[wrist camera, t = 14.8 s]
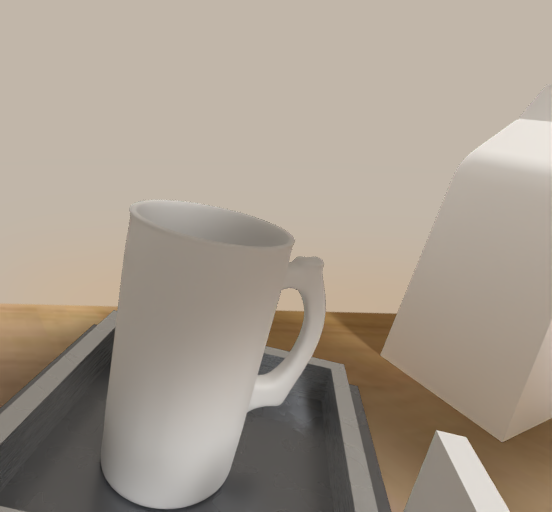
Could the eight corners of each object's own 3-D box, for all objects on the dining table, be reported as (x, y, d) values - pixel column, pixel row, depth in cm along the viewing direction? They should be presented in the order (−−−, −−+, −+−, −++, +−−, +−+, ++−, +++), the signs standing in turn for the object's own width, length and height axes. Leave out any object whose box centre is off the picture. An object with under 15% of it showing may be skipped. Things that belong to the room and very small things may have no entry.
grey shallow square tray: (353, 397, 31) (367, 356, 30) (453, 809, 12) (498, 730, 11) (92, 336, 31) (98, 293, 30) (-249, 660, 11) (-262, 564, 10)
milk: (380, 355, 39) (478, 65, 33) (447, 343, 46) (540, 102, 39) (502, 442, 30) (673, 64, 23) (563, 412, 37) (710, 113, 30)
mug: (93, 531, 16) (138, 234, 13) (92, 415, 22) (123, 191, 19) (316, 492, 20) (390, 264, 17) (266, 404, 26) (315, 221, 23)
